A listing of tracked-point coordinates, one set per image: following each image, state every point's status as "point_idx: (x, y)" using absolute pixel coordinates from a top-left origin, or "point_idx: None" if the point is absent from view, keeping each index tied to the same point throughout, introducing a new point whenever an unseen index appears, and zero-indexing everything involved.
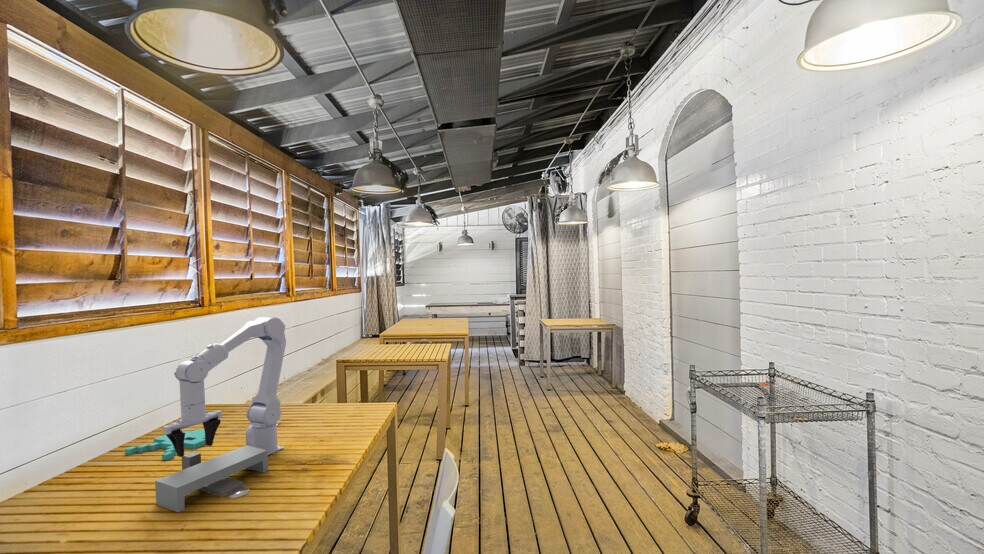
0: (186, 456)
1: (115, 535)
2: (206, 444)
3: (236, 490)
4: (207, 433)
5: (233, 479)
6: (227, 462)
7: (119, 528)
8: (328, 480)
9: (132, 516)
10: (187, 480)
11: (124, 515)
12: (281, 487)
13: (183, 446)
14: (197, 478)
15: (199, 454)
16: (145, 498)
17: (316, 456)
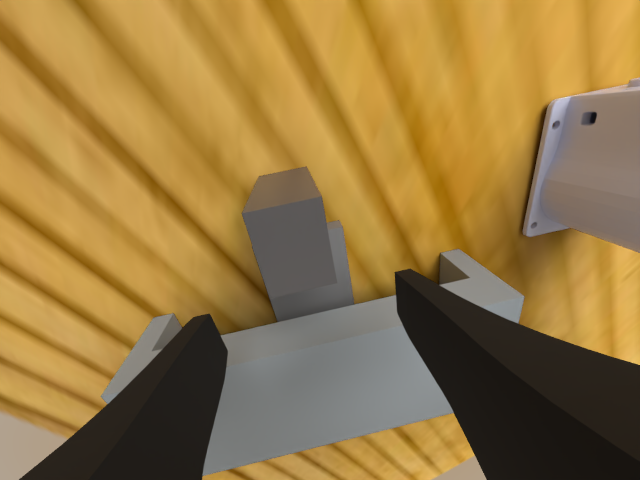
0: (262, 264)
1: (62, 407)
2: (397, 280)
3: None
4: (456, 360)
5: None
6: (367, 410)
7: (64, 383)
8: (459, 449)
9: (89, 344)
10: (217, 456)
11: (61, 322)
12: (401, 427)
13: (207, 437)
14: (246, 461)
15: (329, 282)
16: (116, 243)
17: None
